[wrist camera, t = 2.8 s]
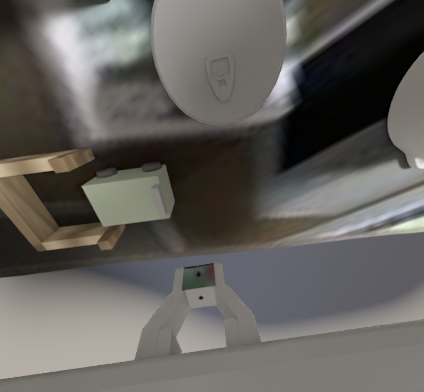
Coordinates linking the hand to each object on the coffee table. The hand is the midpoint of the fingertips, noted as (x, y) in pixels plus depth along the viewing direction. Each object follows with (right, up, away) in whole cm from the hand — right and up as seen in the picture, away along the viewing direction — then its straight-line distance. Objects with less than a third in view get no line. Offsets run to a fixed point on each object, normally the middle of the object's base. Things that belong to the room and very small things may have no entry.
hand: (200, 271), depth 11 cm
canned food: (+1, +18, +8) cm, 20 cm away
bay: (-20, +5, +14) cm, 25 cm away
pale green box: (-10, +6, +14) cm, 18 cm away
